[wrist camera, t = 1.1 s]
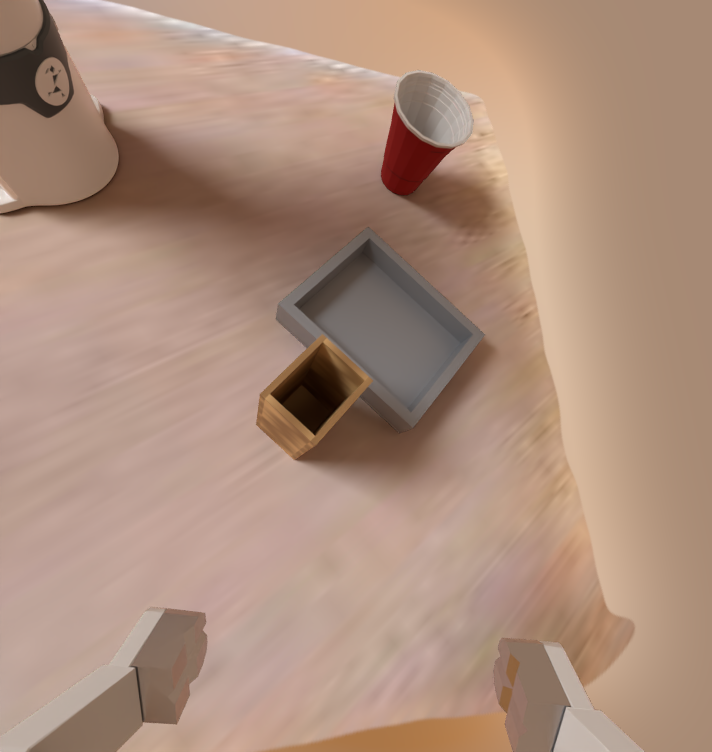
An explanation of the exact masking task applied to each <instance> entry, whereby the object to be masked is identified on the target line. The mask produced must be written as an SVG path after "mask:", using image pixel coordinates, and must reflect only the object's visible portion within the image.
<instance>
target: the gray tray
mask: <svg viewBox="0 0 712 752" xmlns="http://www.w3.org/2000/svg"><path fill="white" fill-rule="evenodd" d="M276 320H277V321H278V322H279V323H280V324H282V325H283V326H284V327H285V328H286V329H287V330H288V331H289V332H290V333H291V334H292V335H293V336H295V337H296V338H297V339H298V340H299V341H300V342H301V343H302V344H303V345H304V346H305V347H306V348H308V347H309V346H310V345H311V344H312V343H313V342H315V341H316V340H317V339H318V338H319V337H320V336H321V335H322V334H323V335H324V336H325V337H326V338H328V339H329V340H330V341H331V342H332V343H333V344H334V345H335V346H336V347H337V348H338V349H339V350H341V351H342V352H343V353H344V354H345V355H346V356H347V357H348V358H349V359H350V360H351V361H352V362H354V363H355V364H356V365H357V366H358V367H359V368H360V369H361V370H362V371H363V372H364V373H365V374H367V375H368V376H369V377H370V378H371V379H372V380H373V382H372V383H371V384H370V385H369V386H368V387H367V388H366V390H365V391H364V392H363V393H362V394H361V395H360V397H361V398H362V399H363V400H364V401H365V402H366V403H367V404H368V405H369V406H370V407H371V408H373V409H374V410H375V411H376V412H377V413H378V414H379V415H380V416H381V417H382V418H383V419H384V420H386V421H387V422H388V423H389V424H390V425H391V426H392V427H393V428H394V429H395V430H396V431H397V432H399V433H401V432H404V431H407V430H409V429H412V428H413V427H414V426H415V425H416V424H417V422H418V421H419V420H420V418H421V417H422V416H423V415H424V413H425V412H426V411H427V409H428V408H429V407H430V405H431V404H432V403H433V402H434V400H435V399H436V398H437V396H438V395H439V394H440V393H441V391H442V390H443V389H444V387H445V386H446V385H447V383H448V382H449V381H450V380H451V378H452V377H453V376H454V374H455V373H456V372H457V371H458V369H459V368H460V367H461V365H462V364H463V363H464V362H465V360H466V359H467V358H468V356H469V355H470V354H471V352H472V351H473V350H474V349H475V347H476V346H477V345H478V343H479V342H480V341H481V340H482V338H483V337H484V336H485V334H484V333H483V332H482V331H481V330H479V329H478V328H477V327H476V326H475V325H474V324H473V323H472V322H471V321H470V320H469V319H468V318H466V317H465V316H464V315H463V314H462V313H461V312H460V311H459V310H458V309H457V308H456V307H455V306H453V305H452V304H451V303H450V302H449V301H448V300H447V299H446V298H445V297H444V296H443V295H442V294H441V293H439V292H438V291H437V290H436V289H435V288H434V287H433V286H432V285H431V284H430V283H429V282H428V281H426V280H425V279H424V278H423V277H422V276H421V275H420V274H419V273H418V272H417V271H416V270H415V269H413V268H412V267H411V266H410V265H409V264H408V263H407V262H406V261H405V260H404V259H403V258H402V257H401V256H399V255H398V254H397V253H396V252H395V251H394V250H393V249H392V248H391V247H390V246H389V245H388V244H386V243H385V242H384V241H383V240H382V239H381V238H380V237H379V236H378V235H377V234H376V233H375V232H373V231H372V230H371V229H370V228H369V227H367V228H366V229H365V230H363V231H362V232H361V233H360V234H359V235H358V236H356V237H355V238H354V239H353V240H352V241H351V242H349V243H348V244H347V245H346V246H345V247H344V248H342V249H341V250H340V251H339V252H338V253H337V254H335V255H334V256H333V257H332V258H331V259H330V260H328V261H327V262H326V263H325V264H324V265H323V266H321V267H320V268H319V269H318V270H317V271H316V272H314V273H313V274H312V275H311V276H310V277H309V278H307V279H306V280H305V281H304V282H303V283H302V284H300V285H299V286H298V287H297V288H296V289H295V290H293V291H292V292H291V293H290V294H289V295H288V296H286V297H285V298H284V299H283V300H282V301H281V302H279V303H278V308H277V314H276Z"/></svg>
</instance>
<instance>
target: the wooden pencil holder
mask: <svg viewBox="0 0 712 752" xmlns="http://www.w3.org/2000/svg"><path fill="white" fill-rule="evenodd" d="M372 382H373V380H372V379H371V378H370V377H369V376H368V375H367V374H365V373H364V372H363V371H362V370H361V369H360V368H359V367H358V366H357V365H356V364H355V363H354V362H352V361H351V360H350V359H349V358H348V357H347V356H346V355H345V354H344V353H343V352H342V351H341V350H339V349H338V348H337V347H336V346H335V345H334V344H333V343H332V342H331V341H330V340H329V339H328V338H326V337H325V336H324V335H323V334H322V335H321V336H320V337H319V338H318V339H317V340H316V341H315V342H313V343H312V344H311V345H310V346H309V347H308V348H307V349H306V350H305V351H304V352H303V353H302V354H301V355H300V356H299V357H298V358H297V359H296V360H295V361H294V362H293V363H292V364H291V365H290V366H289V367H288V368H287V369H285V370H284V371H283V372H282V373H281V374H280V375H279V376H278V377H277V378H276V379H275V380H274V381H273V382H272V383H271V384H270V385H269V386H268V387H267V388H266V389H265V390H264V391H263V392H262V393H261V394H260V398H259V406H258V414H257V422H256V425H257V426H258V427H259V428H260V429H261V430H262V431H263V432H264V433H266V434H267V435H268V436H269V437H270V438H271V439H272V440H273V441H274V442H275V443H276V444H278V445H279V446H280V447H281V448H282V449H283V450H284V451H285V452H286V453H287V454H288V455H289V456H291V457H292V458H293V459H294V460H295V459H296V458H298V457H299V456H301V455H302V454H304V453H305V452H307V451H308V450H310V449H311V448H313V447H314V446H316V445H317V444H318V442H319V441H320V440H321V439H322V438H323V437H324V436H325V435H326V433H327V432H328V431H329V430H330V429H331V428H332V427H333V426H334V424H335V423H336V422H337V421H338V420H339V419H340V418H341V417H342V415H343V414H344V413H345V412H346V411H347V410H348V409H349V408H350V406H351V405H352V404H353V403H354V402H355V401H356V400H357V399H358V397H359V396H360V395H361V394H362V393H363V392H364V391H365V390H366V388H367V387H368V386H369V385H370V384H371V383H372Z"/></svg>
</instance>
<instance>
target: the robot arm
mask: <svg viewBox="0 0 712 752" xmlns="http://www.w3.org/2000/svg"><path fill="white" fill-rule="evenodd" d="M118 161H119V154H118V148H117V145H116V142H115V140H114V138H113V137H112V135H111V134H110V132H109V131H108V129H107V127H106V126H105V124H104V115H103V110H102V107H101V105H100V103H99V101H98V100H97V98H96V97H94V96H93V95H90V94H89V92H88V90H87V88H86V86H85V84H84V82H83V80H82V78H81V76H80V74H79V72H78V70H77V68H76V66H75V64H74V63H73V61H72V59H71V57H70V55H69V53H68V51H67V49H66V48H65V46H64V45H63V42H62V40H61V38H60V35H59V33H58V28H57V25H56V23H55V21H54V19H53V17H52V16H51V14H50V13H49V11H48V9H47V6H46V4H45V3H44V1H43V0H0V213H5V212H10V211H13V210H17V209H20V208H23V207H26V206H36V205H61V204H68V203H72V202H76V201H79V200H82V199H85V198H87V197H89V196H91V195H93V194H95V193H97V192H98V191H99V190H101V189H102V188H103V187H104V186H106V185H107V184H108V182H109V181H110V180H111V179H112V177H113V176H114V174H115V172H116V169H117V166H118ZM205 624H206V616H205V613H202V612H194V611H185V610H177V609H167V608H157V607H150V608H149V609H147V610H146V611H145V612H144V614H143V615H142V616H141V618H140V619H139V621H138V622H137V624H136V625H135V627H134V628H133V630H132V631H131V633H130V634H129V636H128V637H127V639H126V640H125V642H124V643H123V645H122V646H121V647H120V649H119V650H118V652H117V653H116V655H115V656H114V658H113V659H112V661H111V662H110V664H109V665H102V666H100V667H99V668H98V669H96V670H95V671H93V672H92V673H90V674H89V675H88V676H86V677H85V678H83V679H82V680H80V681H79V682H78V683H76V684H75V685H73V686H72V687H70V688H69V689H68V690H66V691H65V692H63V693H62V694H60V695H59V696H57V697H56V698H55V699H53V700H52V701H50V702H49V703H47V704H46V705H45V706H43V707H42V708H40V709H39V710H37V711H36V712H35V713H33V714H32V715H30V716H29V717H27V718H26V719H25V720H23V721H22V722H20V723H19V724H17V725H16V726H15V727H13V728H12V729H10V730H9V731H7V732H6V733H5V734H3V735H2V736H0V752H116V751H117V750H118V749H119V748H120V747H121V746H122V745H123V744H124V743H125V742H126V741H127V740H128V739H129V738H130V737H131V736H132V735H133V734H134V733H135V732H136V731H137V730H138V729H139V728H140V727H141V726H142V725H143V722H146V723H163V724H177V723H178V721H179V719H180V716H181V714H182V712H183V710H184V707H185V705H186V703H187V700H188V698H189V696H190V690H189V684H190V683H191V682H192V681H193V680H195V679H196V678H197V677H198V675H199V673H200V670H201V668H202V666H203V662H204V659H205V655H206V650H207V635H206V634H205V632H204V631H203V628H204V626H205ZM498 650H499V653H500V657H499V658H498V659H497V660H496V661H495V665H494V686H495V691H496V695H497V699H498V703H499V705H500V706H501V707H502V708H503V710H504V711H505V712H506V713H507V717H506V721H505V727H506V730H507V734H508V737H509V740H510V744H511V747H512V750H513V752H645V751H644V750H643V749H642V748H641V747H639V746H638V745H637V744H636V743H635V742H634V741H633V740H632V739H631V738H630V737H629V736H628V735H627V734H625V732H624V731H622V730H621V729H620V728H619V727H618V726H617V725H616V724H615V723H614V722H613V721H612V720H611V719H610V718H609V717H607V716H606V715H605V714H604V713H603V712H602V711H601V710H596V709H594V707H593V705H592V703H591V701H590V699H589V697H588V695H587V693H586V691H585V690H584V688H583V686H582V684H581V682H580V680H579V678H578V676H577V674H576V672H575V670H574V668H573V666H572V664H571V662H570V660H569V658H568V656H567V654H566V652H565V650H564V648H563V647H562V645H561V644H560V643H559V642H547V641H537V640H526V639H512V638H501V640H500V641H499V645H498Z"/></svg>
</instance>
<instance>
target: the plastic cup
mask: <svg viewBox="0 0 712 752" xmlns="http://www.w3.org/2000/svg"><path fill="white" fill-rule="evenodd" d="M394 102H395V103H394V109H393V115H392V122H391V126H390V131H389V135H388V139H387V144H386V148H385V153H384V160H383V165H382V170H381V178H382V181H383V183H384V185H385V186H386V187H387V188H388V189H389V190H390V191H392V192H393V193H396V194H398V195H408V194H411V193H413V191H415V190H416V189H417V188H418V186H419V185H420V184H421V183H422V182H423V180H425V179H426V178H427V177H428V176H429V174H430V173H431V172H432V171H433V170H434V169H435V167H436V166H437V165H438V164H439V163H440V162H441V161H442V159H443V158H444V157H445V156H446V155H447V154H449V153H450V152H451V151H452V150H453V149H454V148H455V147H457V146H460V145H463V144H464V143H465V142H466V141H467V140H468V138H469V137H470V136H471V134H472V131H473V122H474V120H473V117H472V113H471V110H470V106H469V105H468V103H467V102H466V100H465V99H464V97H463V95H462V94H461V92H460V91H458V90H457V89H456V88H455V87H454V86H453V85H452V84H451V83H450V82H449V81H447V80H445V79H443V78H442V77H439V76H438V75H436V74H434V73H431V72H426V71H420V70H417V71H412V72H408V73H405V74H404V75H403V76H402V77H401V78H400V79H399V80H398V81H397V84H396V89H395V94H394Z"/></svg>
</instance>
